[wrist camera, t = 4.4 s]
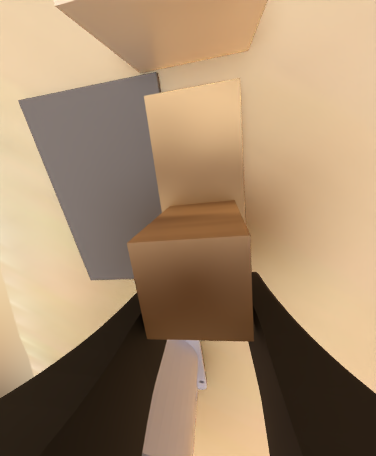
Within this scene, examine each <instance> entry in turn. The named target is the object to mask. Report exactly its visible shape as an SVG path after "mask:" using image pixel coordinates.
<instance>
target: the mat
mask: <svg viewBox="0 0 376 456" xmlns="http://www.w3.org/2000/svg"><path fill="white" fill-rule="evenodd" d="M157 93H161V91H160V85H159V79H158V74H157V73H156V72H153V73H148V74H143V75H139V76H134V77H129V78H124V79H119V80H115V81H110V82H105V83H100V84H95V85H90V86H86V87H81V88H76V89H71V90H66V91H62V92H57V93H52V94H47V95H42V96H37V97H33V98H28V99H23V100H18V101H19V104H20V106H21V109H22V111H23V114H24V116H25V119H26V121H27V124H28V126H29V129H30V131H31V133H32V136H33V138H34V141H35V143H36V146H37V148H38V151H39V153H40V156H41V158H42V161H43V163H44V166H45V168H46V171H47V173H48V176H49V178H50V180H51V183H52V185H53V188H54V190H55V193H56V195H57V198H58V200H59V203H60V205H61V208H62V210H63V213H64V215H65V218H66V220H67V223H68V225H69V227H70V230H71V232H72V235H73V237H74V240H75V242H76V245H77V247H78V250H79V252H80V255H81V257H82V260H83V262H84V265H85V267H86V270H87V272H88V275H89V277H90V279H91V280H113V279H134V275H133V270H132V266H131V261H130V256H129V252H128V247H127V242H129V241H130V240H131V239H132V238H133V237H134V236H136V235H137V234H138V233H139V232H140V231H141V230H143V229H144V228H145V227H146V226H147V225H148V224H150V223H151V222H152V221H153V220H154V219H155V218H157V217H158V216H159V215H160V214H161V213H162V210H161V204H160V197H159V191H158V184H157V178H156V171H155V165H154V158H153V152H152V145H151V139H150V133H149V126H148V120H147V113H146V107H145V100H144V96H146V95H152V94H157Z"/></svg>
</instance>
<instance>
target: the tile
mask: <svg viewBox="0 0 376 456" xmlns="http://www.w3.org/2000/svg"><path fill="white" fill-rule="evenodd" d="M53 1H54V4H55V6H56V7H57V8H58V9H60V10H61V11H62V12H63V13H65V14H66V15H67V16H68V17H70V18H71V19H72V20H73V21H75V22H76V23H77V24H79V25H80V26H81V27H82V28H84V29H85V30H86V31H87V32H89V33H90V34H91V35H93V36H94V37H95V38H96V39H98V40H99V41H100V42H101V43H103V44H104V45H105V46H107V47H108V48H109V49H110V50H112V51H113V52H114V53H115V54H117V55H118V56H119V57H121V58H122V59H123V60H124V61H126V62H127V63H128V64H129V65H131V66H132V67H133V68H135V69H136V70H137V71H138V72H140V73H144V72H149V71H154V70H158V69H163V68H168V67H173V66H178V65H182V64H187V63H192V62H197V61H201V60H206V59H211V58H216V57H221V56H225V55H230V54H235V53H240V52H244V51H248V50H249V47H250V44H251V42H252V39H253V37H254V34H255V32H256V29H257V26H258V24H259V21H260V19H261V16H262V14H263V11H264V8H265V6H266V3H267V1H268V0H53Z"/></svg>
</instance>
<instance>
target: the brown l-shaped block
mask: <svg viewBox="0 0 376 456" xmlns="http://www.w3.org/2000/svg"><path fill="white" fill-rule="evenodd" d="M144 100H145V107H146V113H147V120H148V126H149V133H150V139H151V145H152V152H153V158H154V165H155V171H156V178H157V184H158V191H159V197H160V204H161V210H162V213H161V214H160V215H159V216H158V217H157V218H155V219H154V220H153V221H152V222H151V223H150V224H148V225H147V226H146V227H145V228H144V229H143V230H141V231H140V232H139V233H138V234H137V235H136V236H134V237H133V238H132V239H131V240H130V241H129V242H127V247H128V252H129V256H130V261H131V266H132V270H133V275H134V280H135V284H136V289H137V294H138V299H139V303H140V308H141V313H142V317H143V322H144V327H145V332H146V336H147V339H163V340H209V341H254V331H253V301H252V270H251V240H250V234H249V231H248V229H247V227H246V220H245V194H244V169H243V143H242V118H241V92H240V78H237V79H232V80H226V81H221V82H216V83H210V84H205V85H200V86H194V87H189V88H184V89H178V90H173V91H168V92H162V93H157V94H152V95H146V96H144Z"/></svg>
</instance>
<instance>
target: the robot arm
mask: <svg viewBox="0 0 376 456" xmlns="http://www.w3.org/2000/svg"><path fill="white" fill-rule="evenodd" d="M252 301H253V331H254V341H248V342H249V346H250V351H251V355H252V359H253V364H254V368H255V372H256V377H257V381H258V385H259V390H260V395H261V400H262V406H263V413H264V419H265V426H266V432H267V439H268V446H269V453H270V456H376V394H375V393H374V392H373V391H372V390H371V389H369V388H368V387H367V386H366V385H364V384H363V383H362V382H361V381H360V380H358V379H357V378H356V377H355V376H354V375H352V374H351V373H350V372H349V371H348V370H347V369H345V368H344V367H343V366H342V365H341V364H340V363H339V362H338V361H336V360H335V359H334V358H333V357H332V356H331V355H330V354H329V353H328V352H327V351H325V350H324V349H323V348H322V347H321V346H320V345H319V344H318V343H317V342H316V341H315V340H314V339H313V338H312V337H311V336H310V335H309V334H308V333H307V332H306V331H305V330H304V329H303V328H302V327H301V326H300V325H299V324H298V323H297V322H296V320H295V319H294V318H293V317H292V316H291V315H290V314H289V313H288V312H287V310H286V309H285V308H284V307H283V306H282V305H281V303H280V302H279V301H278V300H277V299H276V297H275V296H274V295H273V294H272V292H271V291H270V290H269V288H268V287H267V286H266V284H265V283H264V281H263V280H262V278H261V277H260V275H259V274H258V273H257V272H252ZM206 388H207V381H206V375H205V368H204V362H203V356H202V350H201V344H200V340H163V339H147V336H146V332H145V327H144V322H143V317H142V313H141V308H140V303H139V299H138V294H137V293H136V294H135V295H134V296H133V297H132V298H131V299H130V300H129V301H128V302H127V303H126V304H125V305H124V306H123V307H122V308H121V309H120V310H119V311H118V312H117V313H116V314H115V315H114V316H112V317H111V318H110V319H109V320H108V321H107V322H106V323H105V324H104V325H103V326H102V327H100V328H99V329H98V330H97V331H96V332H95V333H93V334H92V335H91V336H90V337H88V338H87V339H86V340H85V341H83V342H82V343H81V344H80V345H78V346H77V347H76V348H74V349H73V350H72V351H70V352H69V353H68V354H66V355H65V356H63V357H62V358H61V359H59V360H58V361H56V362H55V363H54V364H52V365H51V366H49V367H48V368H47V369H45V370H44V371H42V372H41V373H39V374H38V375H36V376H35V377H33V378H32V379H30V380H29V381H27V382H26V383H24V384H23V385H21V386H19V387H18V388H16V389H15V390H13V391H12V392H10V393H8V394H7V395H5V396H3V397H2V398H0V456H193V451H194V437H195V423H196V409H197V395H198V389H201V390H204V389H206Z"/></svg>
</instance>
